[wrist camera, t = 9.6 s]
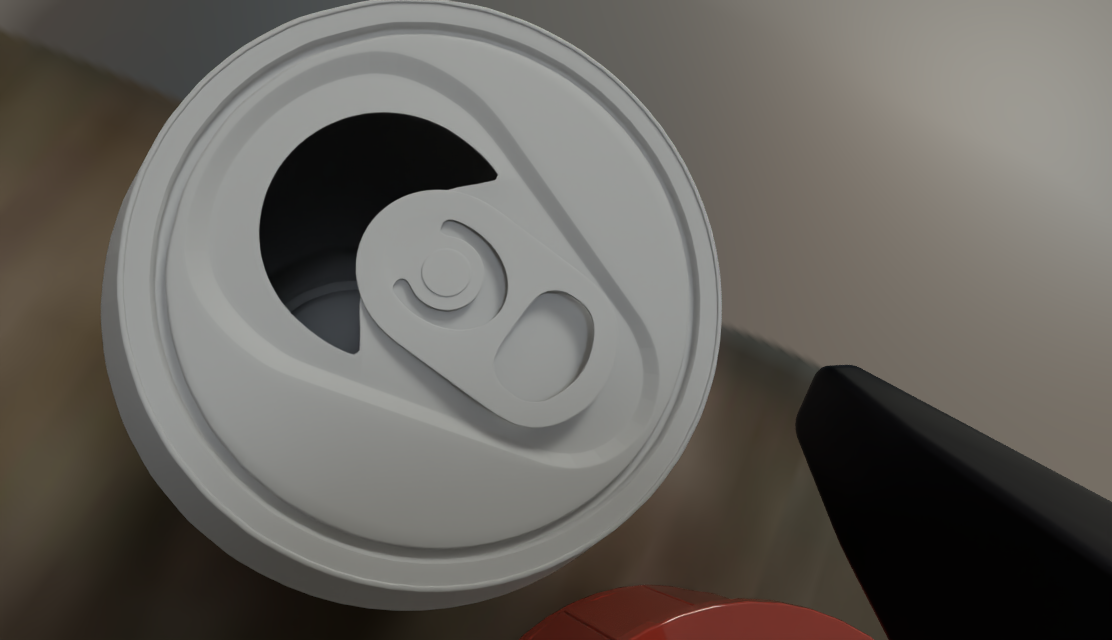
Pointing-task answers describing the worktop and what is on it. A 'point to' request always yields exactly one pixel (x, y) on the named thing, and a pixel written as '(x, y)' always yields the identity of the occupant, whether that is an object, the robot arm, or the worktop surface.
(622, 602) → the pot
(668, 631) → the pot lid
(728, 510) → the worktop surface
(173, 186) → the beverage can
